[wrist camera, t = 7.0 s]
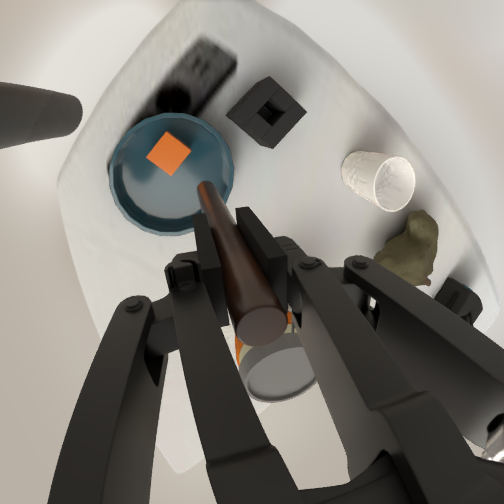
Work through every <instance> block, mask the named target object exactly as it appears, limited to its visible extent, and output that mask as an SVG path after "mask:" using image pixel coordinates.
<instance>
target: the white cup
mask: <svg viewBox="0 0 504 504" xmlns="http://www.w3.org/2000/svg"><path fill="white" fill-rule="evenodd" d="M341 177H342V179H343V181H344V184H345V185H346V186H347V187H348V188H350V189H351V190H352V191H354V192H356V193H357V194H359V195H360V196H362V197H364V198H365V199H367V200H368V201H370V202H372V203H373V204H375V205H377V206H379V207H380V208H382V209H383V210H385V211H388V212H395V211H398V210H400V209H402V208H403V207H405V206H406V205H407V203H408V202H409V201H410V199H411V197H412V195H413V193H414V189H415V173H414V170H413V167H412V165H411V164H410V163H409V161H408V160H406V159H405V158H403V157H400V156H394V155H389V154H383V153H375V152H364V151H356V152H352V153H351V154H349V155H348V156H347V157H346V158H345V160H344V162H343V165H342V167H341Z"/></svg>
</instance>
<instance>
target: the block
mask: <svg viewBox="0 0 504 504" xmlns="http://www.w3.org/2000/svg"><path fill="white" fill-rule="evenodd" d="M190 152H191V148H190V147H188V146H187V145H186V144H184V143H183V142H182V141H180V140H179V139H178V138H177V137H175V136H174V135H173V134H171V133H170V132H169V131H167V132H165V134H164V135H163V136H162V137H161V139H160V140H159V141H158V143H157V144H156V145H155V146H154V148H153V149H152V150H151V152H150V153H149V154H148V156H147V157H146V158H147V159H149V160H150V161H151V162H153V163H154V164H155V165H157V166H158V167H159V168H161V169H162V170H163V171H165V172H166V173H168V174H169V175H170V176H172V175H173V173H174V172H175V171H176V169H177V168H178V167H179V166H180V164H181V163H182V162H183V161H184V159H185V158H186V157H187V156H188V155H189V153H190Z"/></svg>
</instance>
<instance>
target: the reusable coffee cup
mask: <svg viewBox="0 0 504 504" xmlns="http://www.w3.org/2000/svg"><path fill="white" fill-rule="evenodd" d="M287 316H288V325H287V328H286V330H285V332H284V334H283V335H282V336H281V337H280V338H279V339H278V340H276V341H275V342H273V343H271V344H269V345H266V346H261V347H251V346H248V345H245V344H243V343H242V342H241V341H239V340H238V338H237V337H236V335H235V348H236V359H237V363H238V365H239V374H240V377H241V379H242V381H243V384H244V386H245V388H246V391H247V393H248V395H249V396H250V397H251V398H253V399H255V400H257V401H261V402H267V403H274V402H282V401H286V400H289V399H292V398H295V397H297V396H299V395H301V394H302V393H304V392H306V391H307V390H309V389H310V388H311V387H312V386H313V385H315V384H316V382H317V379H316V377H315V375H314V372H313V370H312V367H311V365H310V362H309V360H308V357H307V355H306V353H305V350H304V348H303V345H302V343H301V340H300V338H299V335H298V333H297V331H296V328H295V329H294V333H292V332H291V321H292V313H291V312H289V311H288V313H287Z"/></svg>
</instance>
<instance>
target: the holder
mask: <svg viewBox="0 0 504 504" xmlns="http://www.w3.org/2000/svg"><path fill="white" fill-rule="evenodd" d="M262 106H264V107H266V108H267V109H268V110H269V111H270V112H271V113H272V114H271V115H270V116H269V117H268V118H267V119H266V120H264V119H263V118H262V117H261V116H260V115H259V114H257V113H256V112H257V111H258V110H259V109H260V108H261V107H262ZM306 113H307V111H306V110H305V109H304V108H303V107H302V106H301V105H300V104H299V103H298V102H297V101H295V100H294V99H293V98H292V97H291V96H290V95H289V94H288V93H287V92H286V91H285V90H284V89H283V88H282V87H281V86H280V85H279V84H278V83H277V82H275V81H274V80H273V79H272V78H271V77H270V76H269V77H267V78H265V79H263V80H261V81H259V82H257V83H256V84H255V85H254V86H253V87H252V88H251V89H250V90H249V91H248V92H247V93H246V94H245V95H244V96H243V98H242V99H241V100H240V101H239V102H238V103H237V104H236V105H235V106H234V107H233V108H232V109H231V110H230V111H229V112H228V114H227V115H226V116H227V117H228V118H229V119H230V120H232V121H233V122H234V123H235V124H237V125H238V126H239V127H240V128H241V129H242V130H243V131H245V132H246V133H247V134H248V135H249V136H251V137H252V138H253V139H254V140H255V141H256V142H257V143H258V144H259V145H261V146H264V147H268V148H272V149H274V147H275V146H276V145H277V144H278V143H279V142H280V141H281V140H282V139H283V138H284V136H285V135H286V134H287V133H288V132H289V131H290V130H291V129H292V128H293V127H294V126H295V124H296V123H297V122H298V121H299V120H300V119H301V118H302V117H303V116H304V115H305V114H306Z"/></svg>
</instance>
